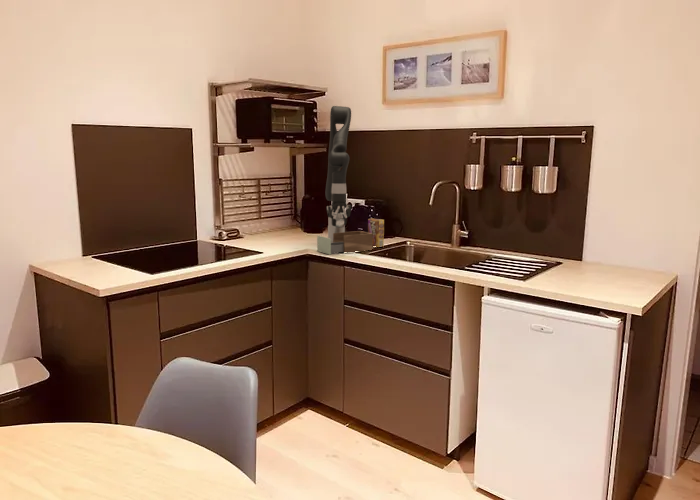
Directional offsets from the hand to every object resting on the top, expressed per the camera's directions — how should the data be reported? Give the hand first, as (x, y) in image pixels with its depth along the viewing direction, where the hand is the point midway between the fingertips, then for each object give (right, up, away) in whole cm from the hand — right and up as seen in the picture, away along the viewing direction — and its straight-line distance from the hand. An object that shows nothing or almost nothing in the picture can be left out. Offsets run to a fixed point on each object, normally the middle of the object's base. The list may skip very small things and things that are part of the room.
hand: (339, 225), depth 273 cm
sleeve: (+7, -13, +6) cm, 16 cm away
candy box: (+20, -11, +18) cm, 29 cm away
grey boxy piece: (0, -13, +2) cm, 14 cm away
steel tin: (0, -1, 0) cm, 1 cm away
